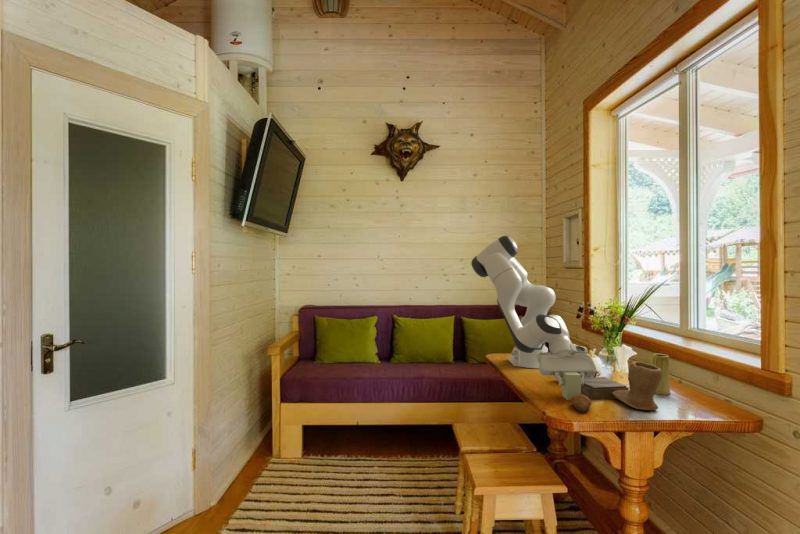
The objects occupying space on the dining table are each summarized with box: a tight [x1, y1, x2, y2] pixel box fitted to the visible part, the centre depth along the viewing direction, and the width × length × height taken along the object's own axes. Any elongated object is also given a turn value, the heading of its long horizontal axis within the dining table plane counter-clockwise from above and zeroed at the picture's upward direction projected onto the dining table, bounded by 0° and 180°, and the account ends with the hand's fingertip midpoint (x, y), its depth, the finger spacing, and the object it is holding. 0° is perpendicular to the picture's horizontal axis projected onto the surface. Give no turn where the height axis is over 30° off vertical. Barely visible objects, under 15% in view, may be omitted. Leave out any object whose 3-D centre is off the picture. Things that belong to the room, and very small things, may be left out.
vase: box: [652, 353, 671, 396], centre depth 164 cm, size 6×6×14 cm
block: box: [561, 372, 582, 401], centre depth 158 cm, size 5×5×9 cm
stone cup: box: [612, 360, 662, 411], centre depth 149 cm, size 15×12×15 cm
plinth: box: [581, 376, 629, 400], centre depth 164 cm, size 14×14×4 cm
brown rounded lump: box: [570, 393, 593, 414], centre depth 147 cm, size 14×7×5 cm, turn 160°
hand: (572, 384), depth 157 cm, fingers open, 5 cm apart
